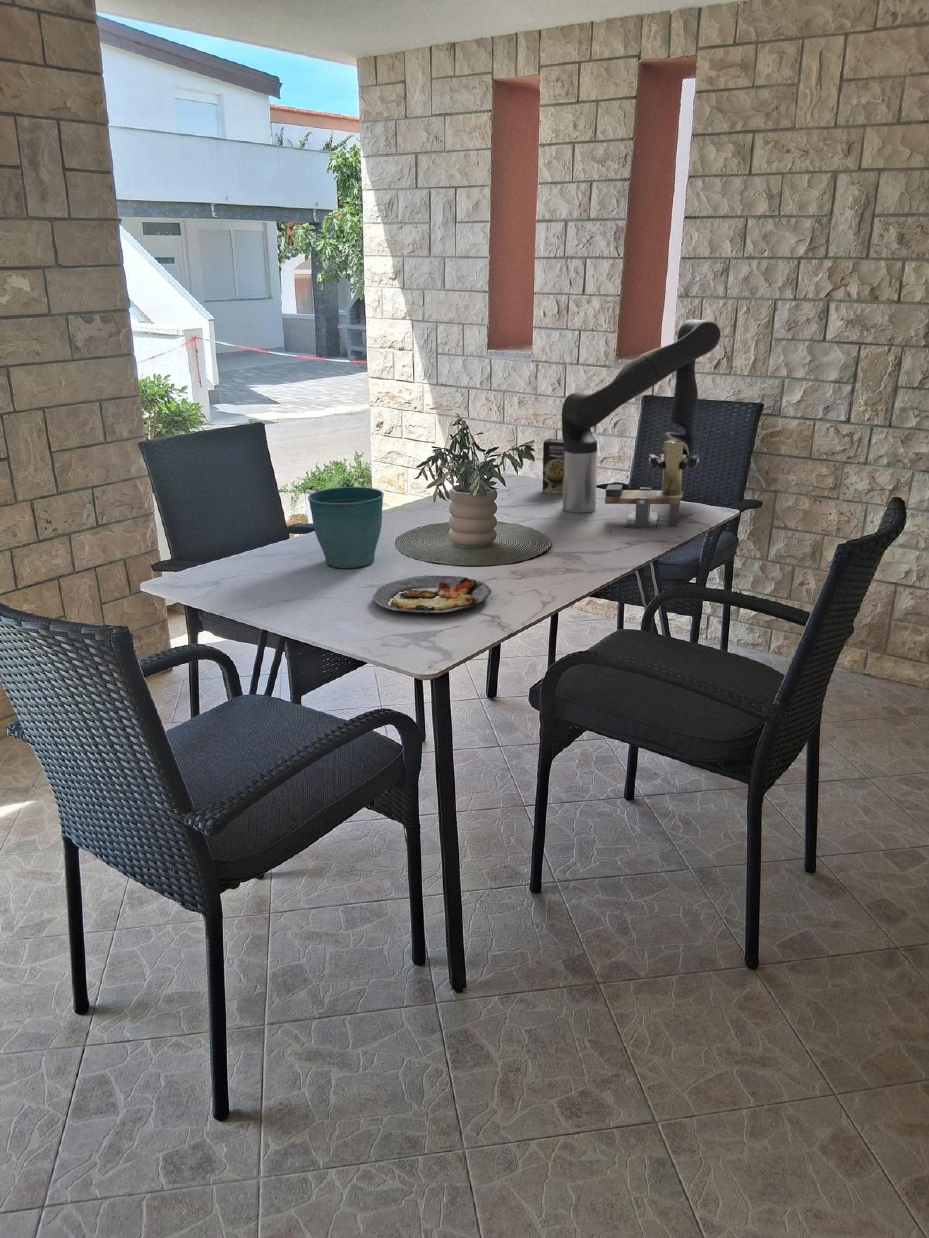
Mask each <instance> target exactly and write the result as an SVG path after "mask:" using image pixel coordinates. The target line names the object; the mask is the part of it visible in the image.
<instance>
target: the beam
mask: <svg viewBox="0 0 929 1238" xmlns="http://www.w3.org/2000/svg"><path fill="white" fill-rule="evenodd" d="M623 487H624V486H623V484H608V485H607V486H606V488H605V498H604V504H605V505H636V497H648V504H650V505H670V504H680V505H681V501H682V498H683V497H684V496H683V495H684V490H682V489H681V494H680V495H676V496H667V495H663V494H662V489H659V490H658V489H657V490H653V489H651V490H640V489H637V490H636V489H630V490H629V489H627V490H626V489H625V490H624V489H623Z"/></svg>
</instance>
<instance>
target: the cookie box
mask: <svg viewBox="0 0 929 1238" xmlns="http://www.w3.org/2000/svg"><path fill="white" fill-rule="evenodd" d="M542 443H543V446H542V448H543V449H542V493H543V492H557V493H556V494H562V493H563V478H564V477H565V444H564V442H563V438H558V439H557V438H547V439H545V440H544V441H543V442H542Z"/></svg>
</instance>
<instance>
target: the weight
mask: <svg viewBox="0 0 929 1238" xmlns="http://www.w3.org/2000/svg"><path fill="white" fill-rule="evenodd" d="M682 458H683V442H682V441H676V440H671V441H665V442H664V457H663V469H662V481H661V483H662V484H661V486H662V487H661V490H662V494H663V495H667V496H676V495H680V494H681V490H682V477H683V475H682V474H683V470H682Z"/></svg>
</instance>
